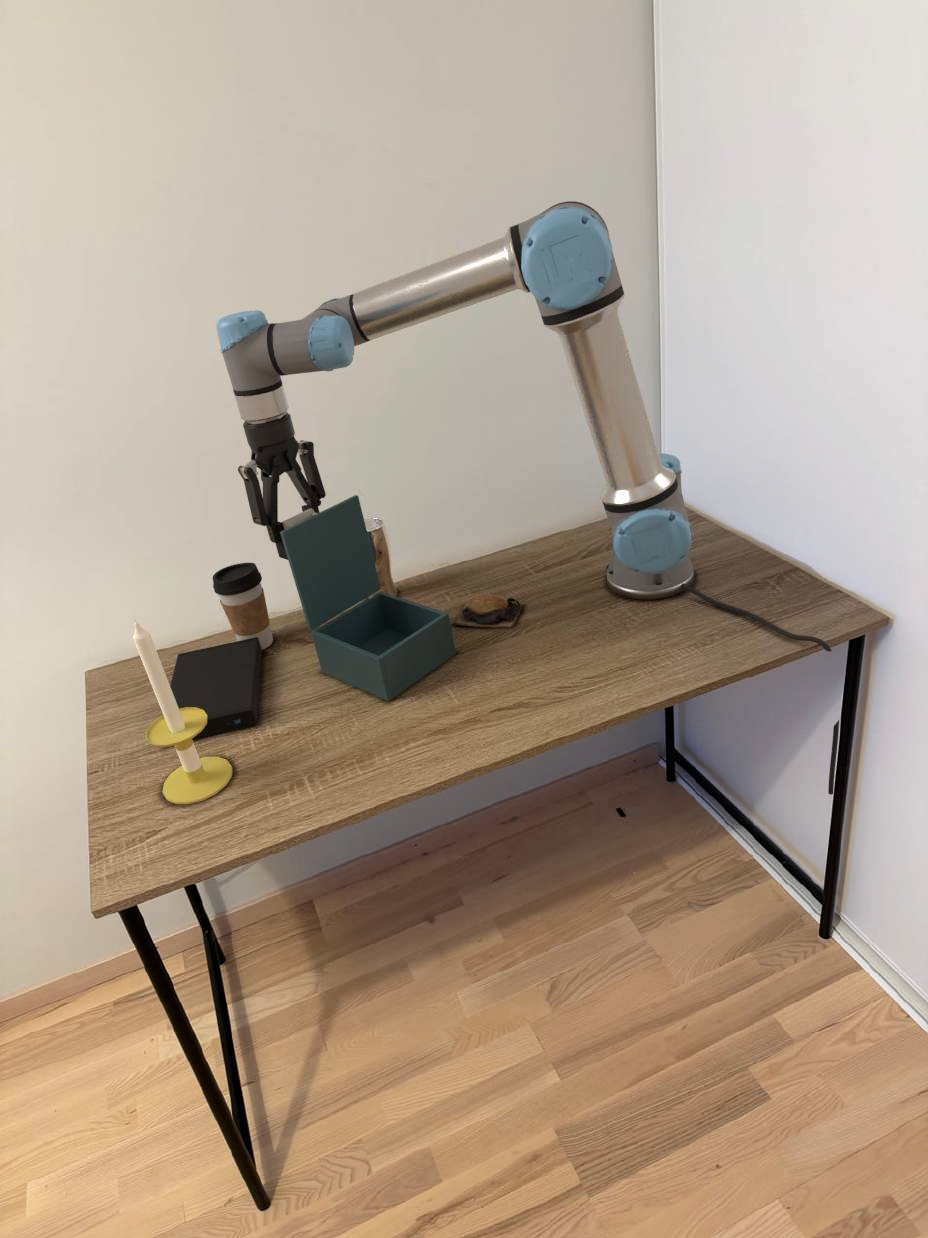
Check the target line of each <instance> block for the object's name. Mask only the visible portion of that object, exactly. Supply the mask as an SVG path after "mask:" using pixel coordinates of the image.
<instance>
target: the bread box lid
mask: <svg viewBox="0 0 928 1238" xmlns="http://www.w3.org/2000/svg"><path fill="white" fill-rule="evenodd" d="M319 512H320V513H315V512H314V510H313V509H311V508H310V509H308V510H306V511H304V512H303V511H302V512H300V513H297V514H295V515H293V516H291V517H289V518H287V519H285V520H283V521H281V522H282V523H283V526H284V530H283V531H281V532H280V534H281V537H282V540H283V544H284V547H285V551H286V554H287V557H288V560H287V561H288V564H289V567H290V570H291V574H292V577H293V580H294V585H295V588H296V590H297V594H298V597H299V601H300V604H301V607H302V611H303V614H304V617H305V620H306V624H307V627H308V630H310V631H314V630H316V629H317V628H319V627H321V626H322V625H324V624H326V623H327V622H329V621H331V620H333V619H334V618H336V617H338V616H339V615H341V614H343V613H344V612H346V611H348V610H349V609H351V608H353V607H354V606H356V605H358V604H359V603H361V602H363V601H365V600H366V599H367V597H369V596H370V595H372V594H374V593H375V592H377V591H379V590H380V589H381V587H380V583H379V579H378V575H377V570H376V566H375V562H374V558H373V554H372V550H371V546H370V542H369V538H368V534H367V530H366V526H365V522H364V519H365V518H364V514H363V509H362V506H361V501H360V498H359V495H357V494H354V495H353V496H351V497H349V498H347V499H344V500H343V501H340V502H339V503H337V504H334V505H332V506H330V507H328V508H326V509H324V510H322V511H319Z"/></svg>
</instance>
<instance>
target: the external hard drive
mask: <svg viewBox="0 0 928 1238" xmlns="http://www.w3.org/2000/svg"><path fill="white" fill-rule="evenodd" d="M262 653H263V650H262V649H261V646H260V642H259V639H258V638H257V637H255V638H251V639H246V640H241V641H238V640H237V641H233V642H228V643H223V644H219V645H214V646H209V647H206V648H205V647H204V648H200V649H195V650H191V651H185V652H181V653H178V654H177V657H176V659H175V660H176V661H175V665H174V668H173V672H172V677H171V680H170V681H171V682H170V684H169V685H170V687H171V690H172V692H173V695H174V697H175V700H176V703H177V705H178V708H179V709H181V708H185V707H196V708H199V709H202V710H204V711H205V713H206V714H207V715H208V718H207V724H206V726H205V727H204V729H203V730H202V731H201V732H200V733H199V734H197V735H196V736H195V737H194V738H192V740H193V741H194V740H199V739H203V738H208V737H211V736H216V735H220V734H225V733H230V732H235V731H238V730H243V729H248V728H252V727H256V726H257V723H258V709H259V694H260V679H261V667H262V656H263V655H262Z"/></svg>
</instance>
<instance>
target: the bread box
mask: <svg viewBox="0 0 928 1238" xmlns="http://www.w3.org/2000/svg"><path fill="white" fill-rule="evenodd" d="M310 634H311V637H312V640H313V644H314V648H315V652H316V656H317V658H318V662H319V666H320V670H321V672H322V673H324V674H326V675H328V676H331V677H332V678H335V679H336V680H340V681H342V682H344V683H346V684H348V685H351V686H353V687H354V688H357V689H359V690H362V691H365V692H366V693H367V694H371V695H373V696H375V697H377V698H379V699H381V700H384V701H386V702H390V701H391V700H393V699H395V698H396V697H397V696H398V695H400V694H402V693H403V692H404V691H405V690H407V689H409V688H410V687H412V686H413V685H414V684H415V683H417V682H419V681H420V680H421V679H423V678H424V677H425V676H427V675H428V674H430V673H431V672H432V671H434V670H436V669H437V668H438V667H439V666H441V665H442V664H444V663H445V662H446V661H448V660H449V659H451V658H452V657H454V656H455V655H457V654H456V653H457V652H456V646H455V641H454V636H453V630H452V624H451V620H450V613H448V612H445V611H442V610H439V609H436V608H433V607H430V606H427V605H424V604H421V603H418V602H415V601H412V600H409V599H406V598H402V597H400V596H398V595H397V596H394V595H390V594H387V593H384V592H381V591H380V592H378V593H377V594H375V595H373V596H371V597H370V598H368V599H367V598H365V599H364V600H362V601H360V602H359V603H357V604H355V605H354V606H352V607H350V608H349V609H347V610H345V611H344V612H342V613H340V614H339V615H337V616H335V617H333V618H332V619H330V620H328V621H327V622H325V623H323V624H322V625H320V626H318V627H317V628H315V629H313V630H312V631H311V633H310Z"/></svg>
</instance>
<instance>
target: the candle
mask: <svg viewBox="0 0 928 1238" xmlns="http://www.w3.org/2000/svg"><path fill="white" fill-rule="evenodd" d="M133 620H134V634H133V636H132V640H133V642H134V645H135V647H136V649H137V652H138V654H139V655H138V656H139V657H140V660H141V662H142V664H143V667H144V670H145V672H146V675H147V677H148V679H149V682H150V686H151V687H152V690H153V693H154V694H155V698H156V699H157V702H158V705H159V707H160V710H161V712H162V715H160V716H159V717H157V718H156V719H155V720H153V721H152V722H151V723H150V724H149V726H148V727H147V728H146V731H145V739H146V740H147V742H148V744H149V745H151V746H155V747H159V748H160V747H161V748H162V747H163V748H168V747H174V748H175V751H176V754H177V756H178V758H179V759H178V760H179V761H180V764H181V765H180V766H178V767H177V768H176V769H174V771H172V772H171V773H170V774H169V775H168V777H166V779H165V781H164V782H163V786H162V794H163V796H164V797H165V800H166V801H168V802H169V803H173V804H175V805H191V804H196V803H199V802H203V801H205V800H207V799H209V798H211V797H213V796H215V795H217V794H218V793H219V792H221V791H222V790H223V789H224V788H225V787H227V785H228V784H229V782H230V780H231V779H232V777H233V766H232V765H231V763H230V762H229V760H228V759H226V758H223V757H220V756H204V757H200V755H199V754H198V751H197V748H196V745H195V743H194V740H192V738H194V737H195V736H196V735H197V734H199V733H200V732H201V731H202V730H203V729H204V727H205V726H206V724H207V718H208V715H207V714H206V713H205V711H204V710H202V709H199V708H196V707H185V708H181V709H179V708H178V705H177V703H176V700H175V697H174V695H173V692H172V690H171V687H170V685H171V684H170V682H169V680H168V676H167V674H166V672H165V670H164V667H163V663H162V661H161V659H160V656H159V654H158V651H157V649H156V646H155V644H154V641H153V638H152V636H151V633H150V631H148V630H145V629H144V628H143V627H142V625H140V623H139V621H137V620H136V617H135V618H133Z"/></svg>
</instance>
